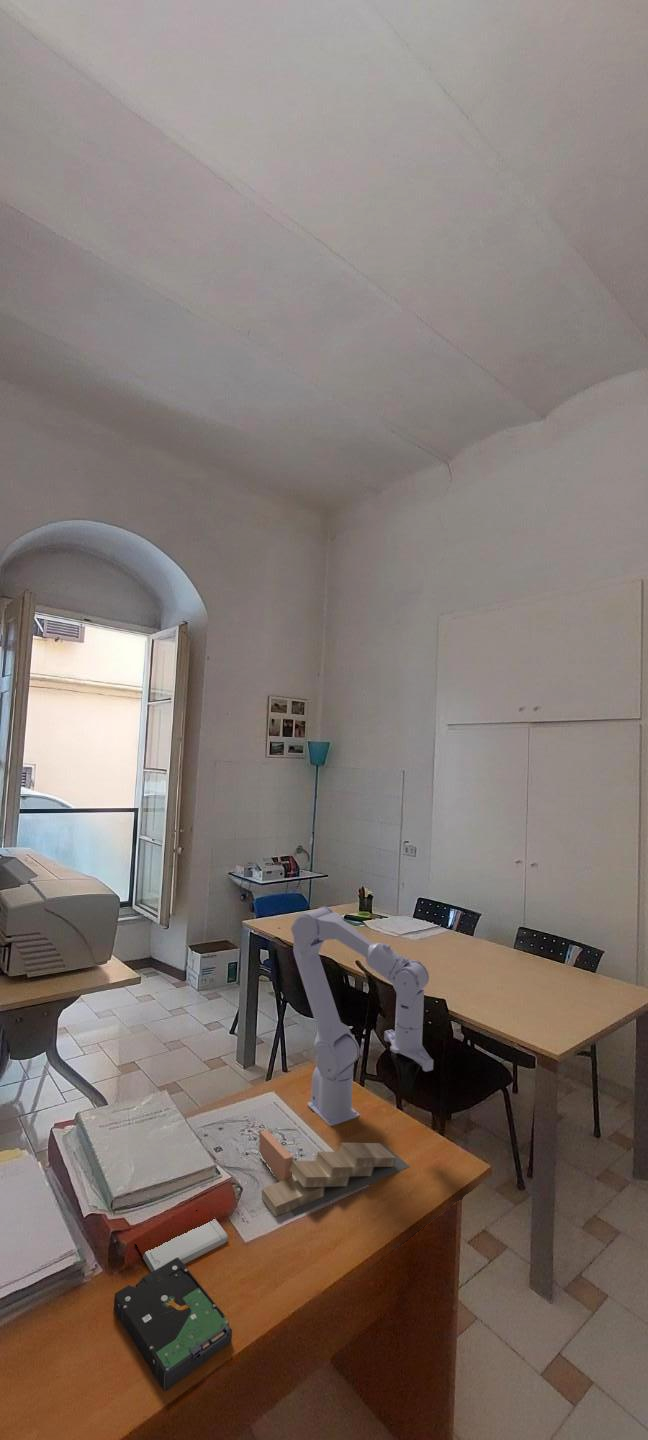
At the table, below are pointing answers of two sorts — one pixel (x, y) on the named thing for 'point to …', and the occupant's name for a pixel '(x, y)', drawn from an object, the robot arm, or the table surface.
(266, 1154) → the domino
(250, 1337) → the table surface
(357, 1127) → the table surface
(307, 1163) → the domino
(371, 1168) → the domino
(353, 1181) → the grey flat rectangular board
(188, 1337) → the disk drive
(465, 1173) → the table surface
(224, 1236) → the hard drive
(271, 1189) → the domino
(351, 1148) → the domino
